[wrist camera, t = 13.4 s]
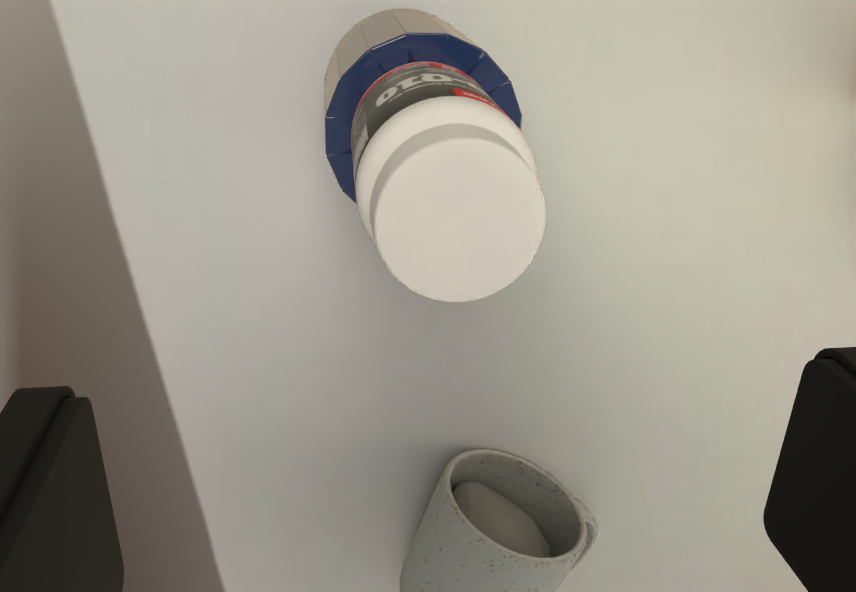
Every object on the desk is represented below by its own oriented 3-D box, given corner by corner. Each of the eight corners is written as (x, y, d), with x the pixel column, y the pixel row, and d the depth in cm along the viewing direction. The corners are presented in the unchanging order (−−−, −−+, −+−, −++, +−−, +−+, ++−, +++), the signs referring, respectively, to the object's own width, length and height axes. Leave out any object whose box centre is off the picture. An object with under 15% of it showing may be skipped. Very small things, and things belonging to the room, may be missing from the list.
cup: (292, 88, 32) (283, 136, 24) (404, -28, 30) (429, -14, 23) (400, 193, 34) (420, 264, 27) (508, 90, 33) (559, 136, 26)
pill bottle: (500, 62, 24) (579, 122, 17) (487, 205, 26) (553, 315, 19) (349, 56, 24) (361, 115, 16) (348, 203, 26) (357, 316, 18)
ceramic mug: (385, 551, 43) (399, 671, 36) (433, 434, 40) (459, 541, 33) (554, 579, 46) (597, 696, 39) (612, 472, 42) (670, 577, 36)
